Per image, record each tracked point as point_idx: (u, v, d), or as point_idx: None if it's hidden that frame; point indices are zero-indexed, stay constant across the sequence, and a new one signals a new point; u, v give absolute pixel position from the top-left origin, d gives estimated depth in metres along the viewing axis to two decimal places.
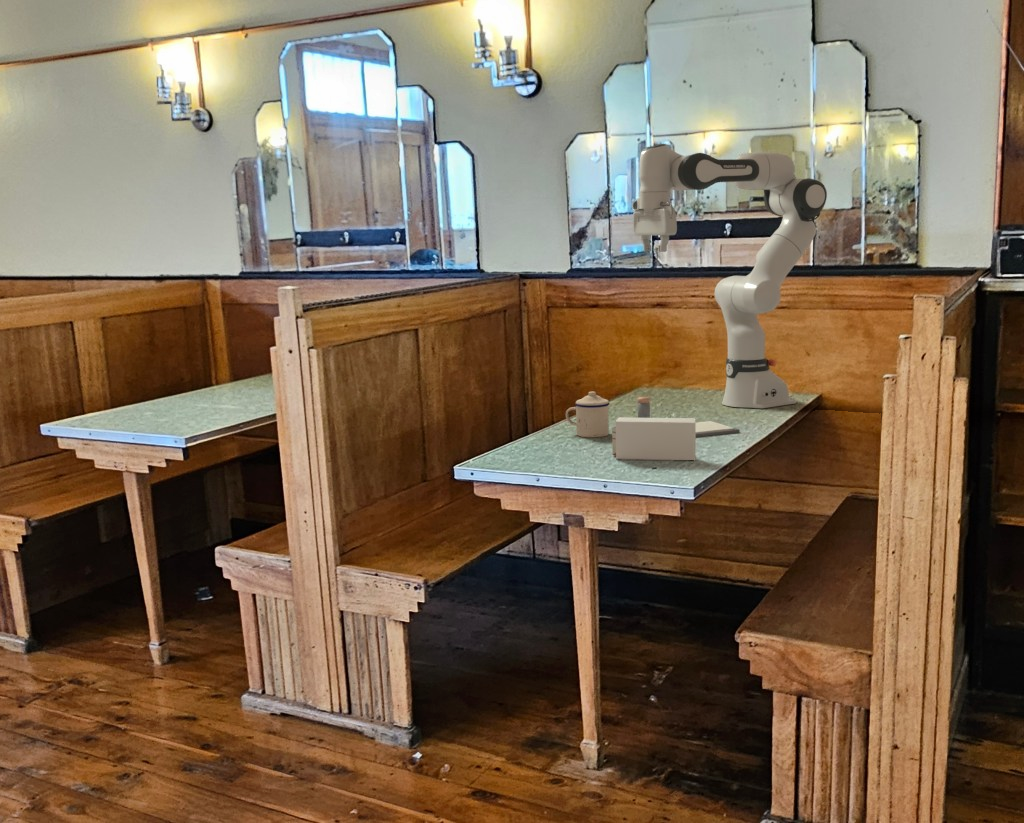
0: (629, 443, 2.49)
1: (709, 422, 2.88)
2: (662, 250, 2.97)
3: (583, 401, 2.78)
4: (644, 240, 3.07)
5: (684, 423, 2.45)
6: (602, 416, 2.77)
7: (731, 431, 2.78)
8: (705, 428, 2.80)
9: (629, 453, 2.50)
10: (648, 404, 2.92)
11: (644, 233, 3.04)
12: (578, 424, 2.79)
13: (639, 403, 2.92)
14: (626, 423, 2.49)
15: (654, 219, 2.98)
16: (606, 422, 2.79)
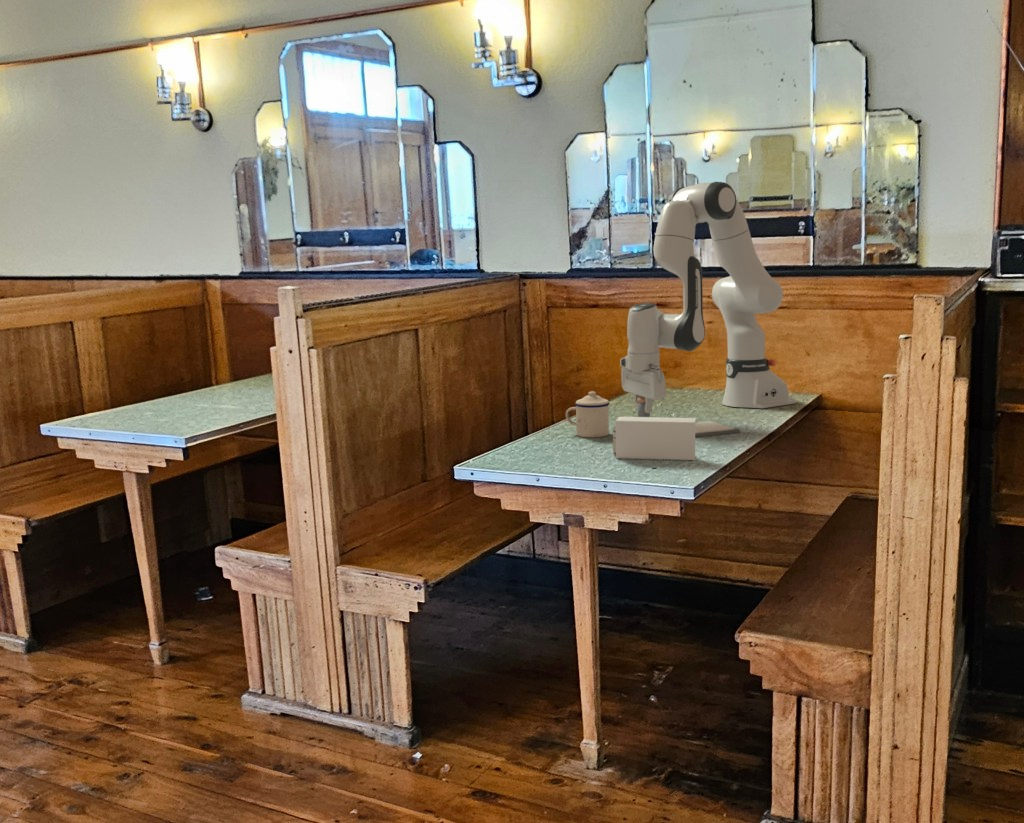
0: (629, 442, 2.50)
1: (709, 422, 2.88)
2: (647, 411, 2.91)
3: (583, 401, 2.78)
4: (636, 398, 2.96)
5: (684, 423, 2.46)
6: (602, 416, 2.77)
7: (731, 431, 2.78)
8: (705, 428, 2.80)
9: (629, 452, 2.51)
10: None
11: (633, 392, 2.95)
12: (578, 424, 2.79)
13: (639, 403, 2.92)
14: (626, 422, 2.49)
15: (643, 380, 2.89)
16: (606, 422, 2.79)
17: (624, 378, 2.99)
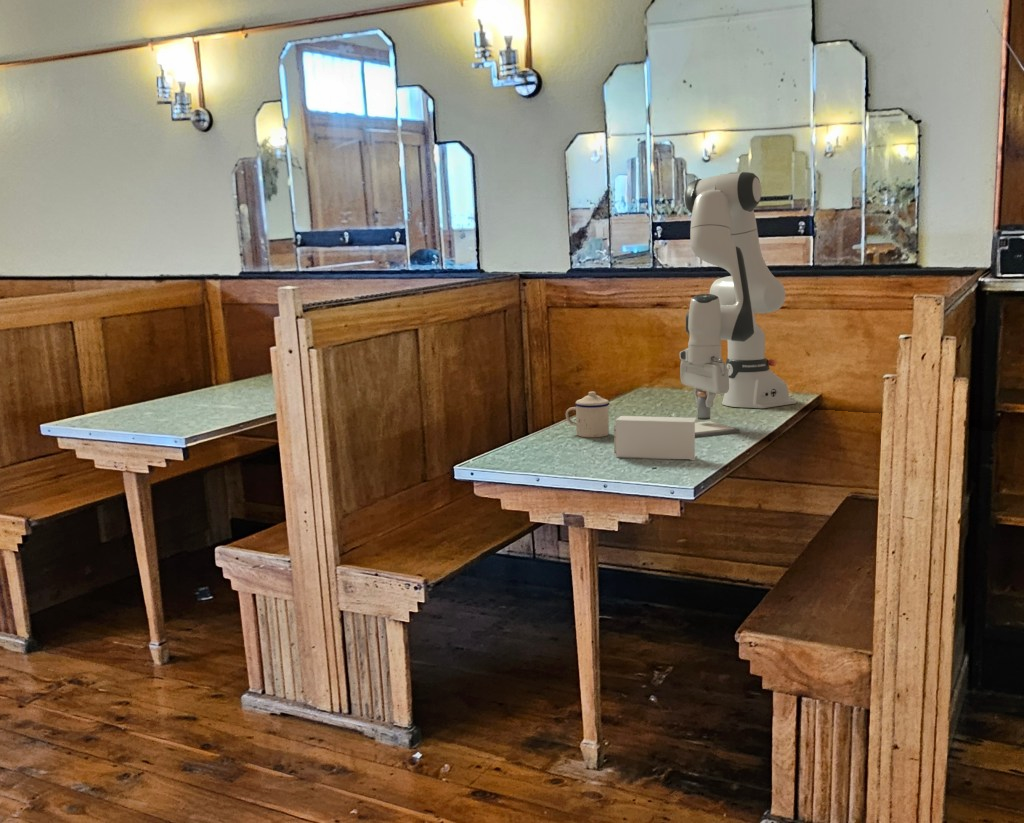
0: (629, 441, 2.51)
1: (709, 422, 2.88)
2: (708, 406, 2.82)
3: (583, 401, 2.78)
4: (696, 392, 2.88)
5: (683, 422, 2.46)
6: (602, 416, 2.77)
7: (731, 431, 2.78)
8: (705, 428, 2.80)
9: (629, 451, 2.52)
10: None
11: (693, 385, 2.87)
12: (578, 424, 2.79)
13: (699, 397, 2.84)
14: (626, 422, 2.51)
15: (704, 374, 2.81)
16: (606, 422, 2.79)
17: (683, 371, 2.91)
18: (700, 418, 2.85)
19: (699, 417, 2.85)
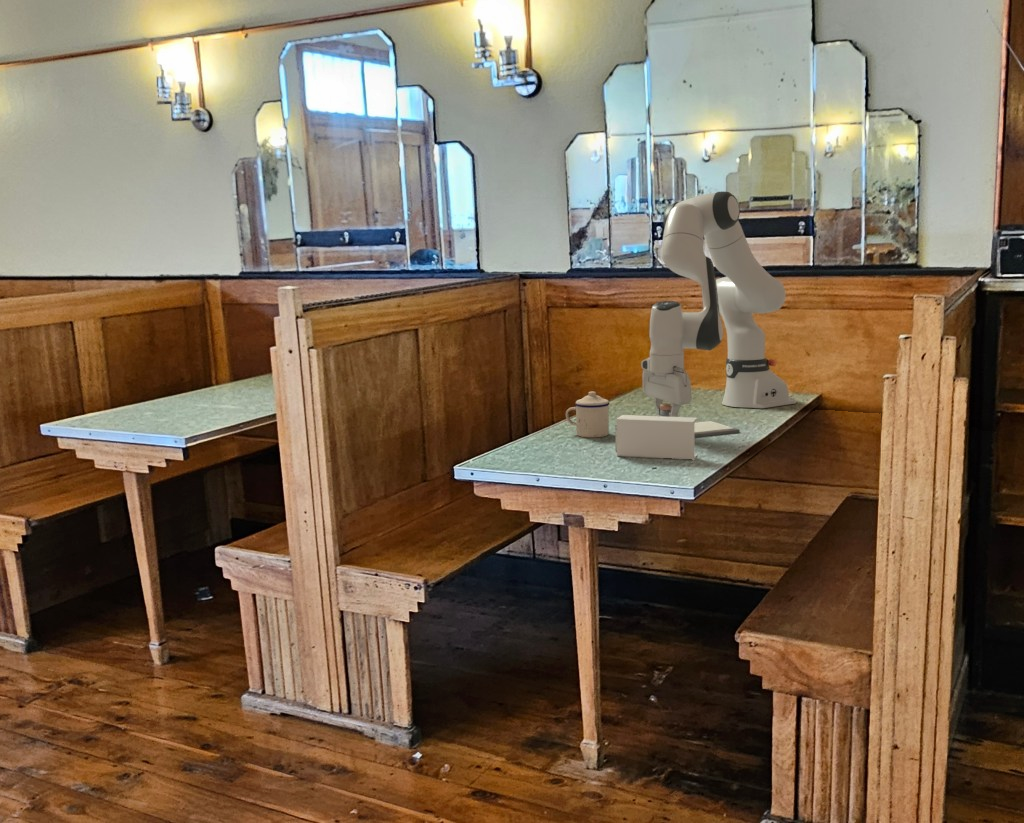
0: (629, 440, 2.52)
1: (709, 422, 2.88)
2: None
3: (583, 401, 2.78)
4: (657, 402, 2.78)
5: (683, 422, 2.47)
6: (602, 416, 2.77)
7: (731, 431, 2.78)
8: (705, 428, 2.80)
9: (629, 450, 2.53)
10: None
11: (655, 396, 2.76)
12: (578, 424, 2.79)
13: (662, 410, 2.73)
14: (626, 421, 2.52)
15: (666, 384, 2.70)
16: (606, 422, 2.79)
17: (645, 381, 2.80)
18: None
19: None
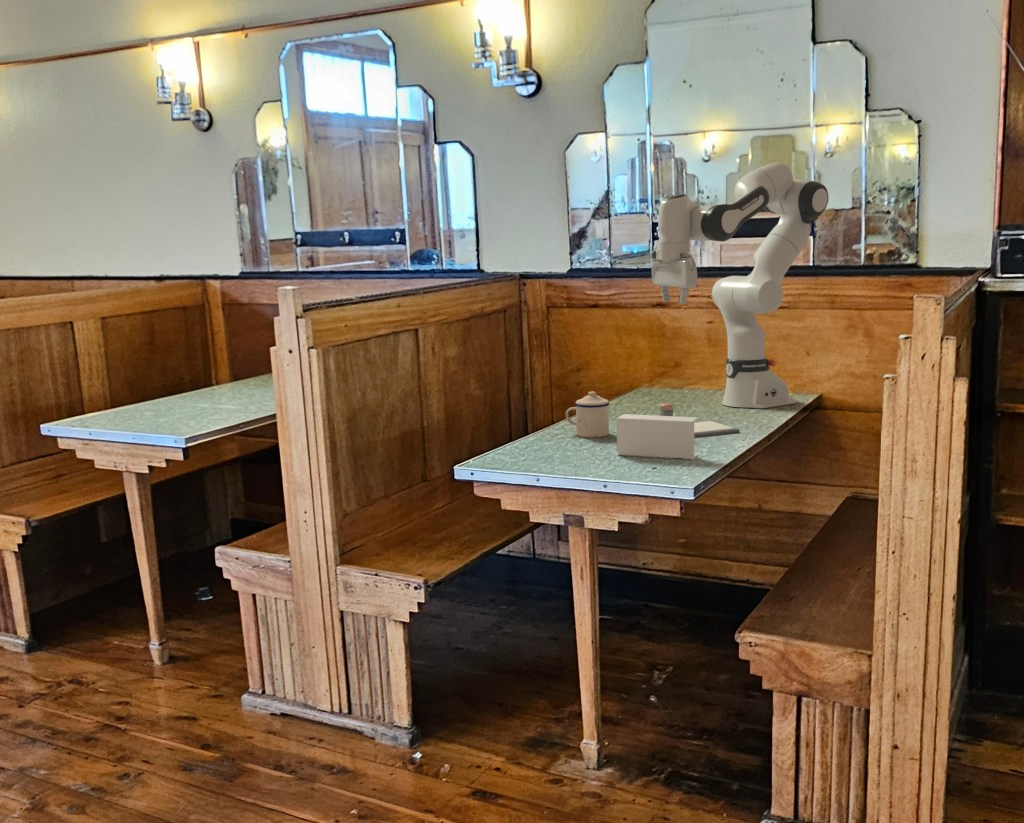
0: (630, 440, 2.53)
1: (709, 422, 2.88)
2: (682, 302, 2.91)
3: (583, 401, 2.78)
4: (663, 290, 3.01)
5: (682, 422, 2.47)
6: (602, 416, 2.77)
7: (731, 431, 2.78)
8: (705, 428, 2.80)
9: (630, 449, 2.54)
10: (671, 411, 2.73)
11: (663, 284, 2.98)
12: (578, 424, 2.79)
13: (661, 410, 2.74)
14: (627, 420, 2.53)
15: (674, 270, 2.92)
16: (606, 422, 2.79)
17: (654, 272, 3.02)
18: None
19: None
